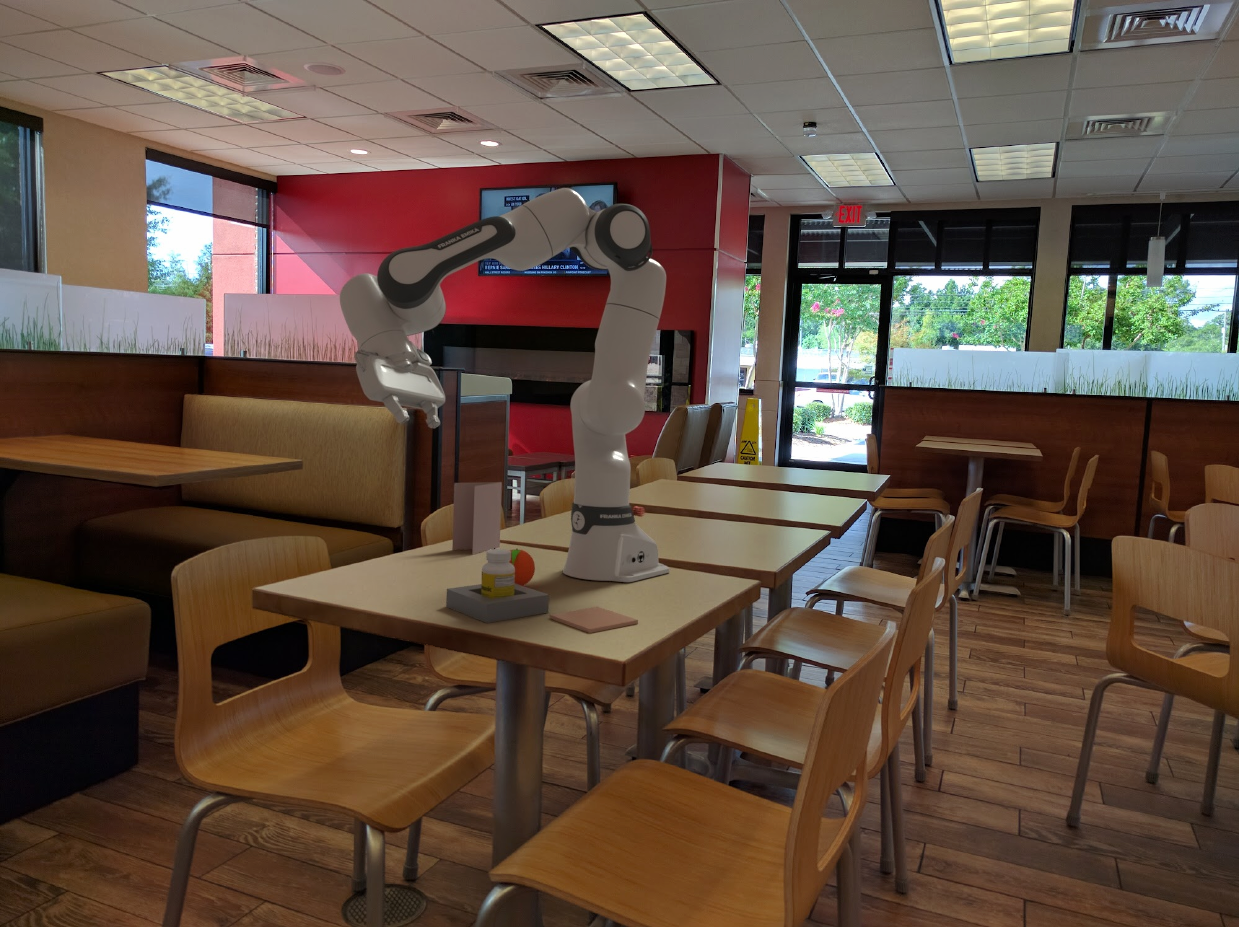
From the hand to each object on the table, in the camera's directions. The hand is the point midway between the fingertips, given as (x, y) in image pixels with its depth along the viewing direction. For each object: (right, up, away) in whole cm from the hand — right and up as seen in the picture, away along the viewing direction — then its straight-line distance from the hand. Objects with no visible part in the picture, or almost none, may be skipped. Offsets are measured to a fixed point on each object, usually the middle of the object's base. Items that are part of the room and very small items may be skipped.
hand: (420, 424), depth 153 cm
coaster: (+31, -32, -14) cm, 47 cm away
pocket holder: (+15, -31, -10) cm, 36 cm away
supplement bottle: (+15, -31, -10) cm, 36 cm away
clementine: (+16, -30, +7) cm, 35 cm away
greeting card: (+4, -27, +41) cm, 49 cm away
